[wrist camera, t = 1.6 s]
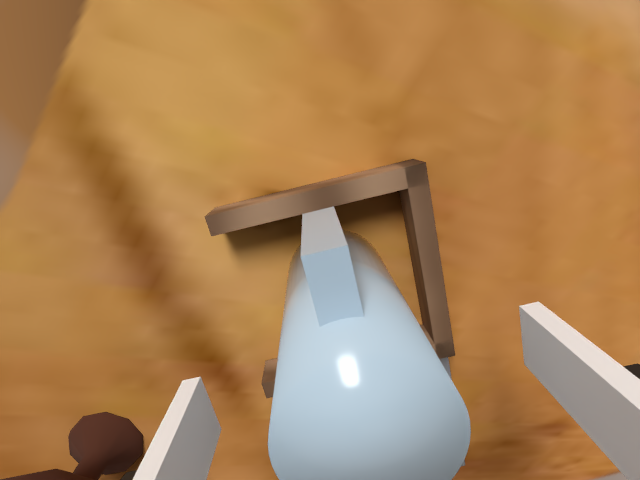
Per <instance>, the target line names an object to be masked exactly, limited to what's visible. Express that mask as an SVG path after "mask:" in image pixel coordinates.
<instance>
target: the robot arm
mask: <svg viewBox="0 0 640 480" xmlns="http://www.w3.org/2000/svg"><path fill="white" fill-rule="evenodd" d="M519 310H520V321H521V332H522V343H523V354H524V364H525V365H526V367H527V368H528V369H529V370H530V371H531V372H532V373H533V374H534V375H535V377H536V378H537V379H538V380H539V381H540V382H541V383H542V384H543V385H544V387H545V388H546V389H547V390H548V391H549V392H550V393H551V394H552V396H553V397H554V398H555V399H556V400H557V401H558V402H559V403H560V404H561V406H562V407H563V408H564V409H565V410H566V411H567V412H568V413H569V414H570V416H571V417H572V418H573V419H574V420H575V421H576V422H577V423H578V424H579V426H580V427H581V428H582V429H583V430H584V431H585V432H586V433H587V434H588V436H589V437H590V438H591V439H592V440H593V441H594V442H595V443H596V445H597V446H598V447H599V448H600V449H601V450H602V451H603V452H604V453H605V455H606V456H607V457H608V458H609V459H610V460H611V461H612V462H613V463H614V465H615V466H616V467H617V468H618V469H619V470H620V471H621V472H622V473H623V475H624V476H625V477H626V478H627V479H628V480H640V364H633V365H628V366H624V367H623V366H622V365H620V364H619V363H618V362H616V361H615V360H614V359H613V358H611V357H610V356H609V355H607V354H606V353H605V352H603V351H602V350H601V349H600V348H598V347H597V346H596V345H594V344H593V343H592V342H590V341H589V340H588V339H587V338H585V337H584V336H583V335H581V334H580V333H579V332H577V331H576V330H575V329H573V328H572V327H571V326H570V325H568V324H567V323H566V322H564V321H563V320H562V319H560V318H559V317H558V316H557V315H555V314H554V313H553V312H551V311H550V310H549V309H547V308H546V307H545V306H544V305H542V304H541V303H540V302H535V303H531V304H526V305H522V306H519ZM220 432H221V427H220V424H219V422H218V419H217V417H216V414H215V412H214V409H213V407H212V404H211V402H210V399H209V397H208V394H207V392H206V389H205V387H204V384H203V382H202V379H201V377H197V378H192V379H188V380H183V381H182V383H181V385H180V387H179V389H178V391H177V393H176V395H175V397H174V399H173V401H172V403H171V405H170V407H169V409H168V411H167V413H166V415H165V417H164V419H163V420H162V422H161V424H160V426H159V428H158V430H157V432H156V434H155V436H154V438H153V440H152V442H151V444H150V446H149V448H148V450H147V452H146V454H145V456H144V458H143V460H142V462H141V464H140V466H139V468H138V470H136V471H131V472H127V473H126V474H125V475H124V476H123V477H122V478H121V479H120V480H206V479H207V476H208V472H209V469H210V465H211V462H212V459H213V455H214V452H215V449H216V445H217V442H218V439H219V435H220Z"/></svg>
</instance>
